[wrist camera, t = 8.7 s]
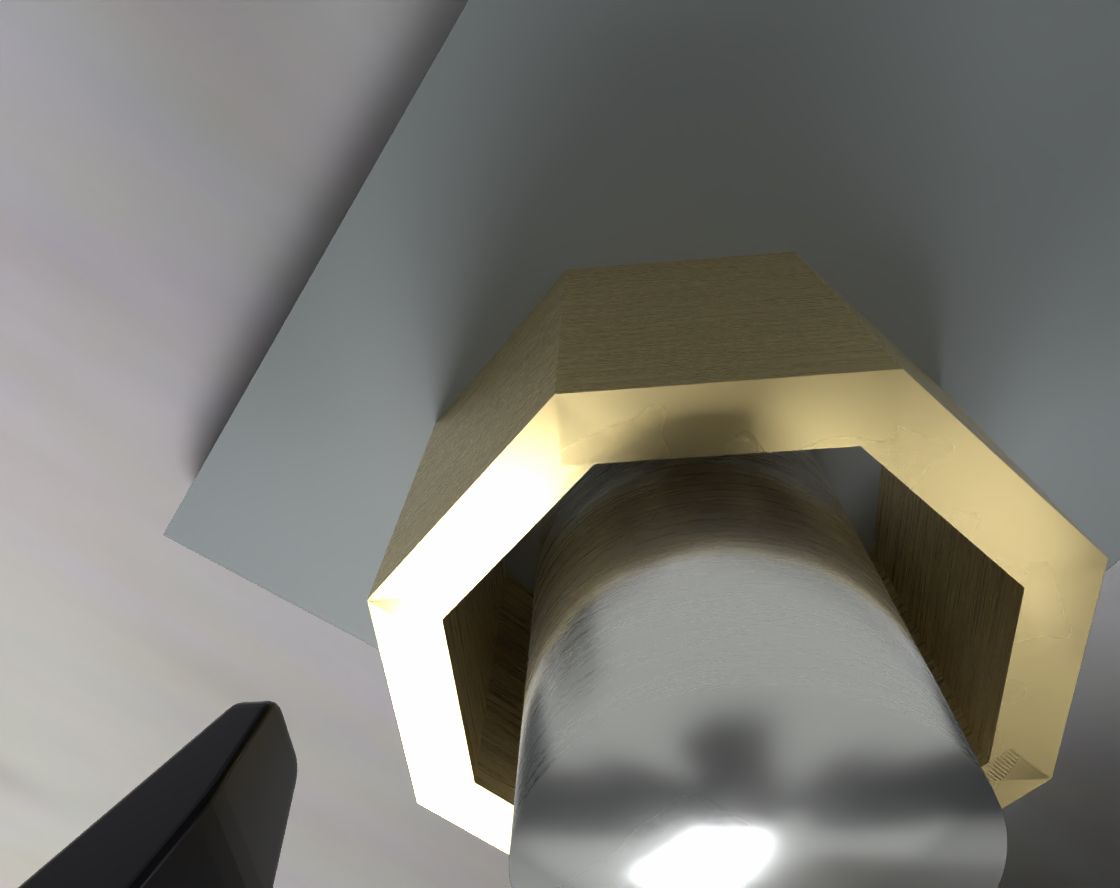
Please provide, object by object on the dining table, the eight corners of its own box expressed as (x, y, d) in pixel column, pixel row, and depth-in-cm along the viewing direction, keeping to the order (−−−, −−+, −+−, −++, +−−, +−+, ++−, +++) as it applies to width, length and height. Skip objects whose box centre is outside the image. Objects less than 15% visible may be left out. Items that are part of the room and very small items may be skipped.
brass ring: (960, 237, 10) (1162, 350, 7) (905, 665, 13) (1020, 899, 10) (409, 282, 11) (321, 410, 7) (482, 686, 14) (445, 915, 10)
